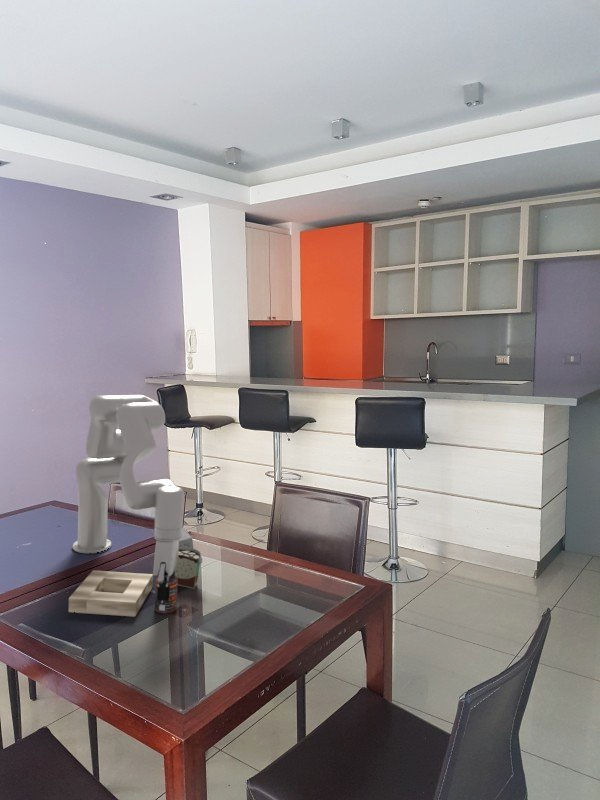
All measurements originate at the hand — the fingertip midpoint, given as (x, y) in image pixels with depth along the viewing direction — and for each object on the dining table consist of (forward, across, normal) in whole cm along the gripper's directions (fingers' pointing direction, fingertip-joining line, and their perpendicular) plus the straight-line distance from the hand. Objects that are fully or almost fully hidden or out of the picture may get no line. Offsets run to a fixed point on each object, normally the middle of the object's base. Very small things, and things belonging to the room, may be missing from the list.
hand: (166, 593), depth 162 cm
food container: (+5, -18, +2) cm, 19 cm away
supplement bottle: (+5, 0, 0) cm, 5 cm away
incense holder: (+5, -31, -3) cm, 32 cm away
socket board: (+5, -4, -16) cm, 17 cm away
